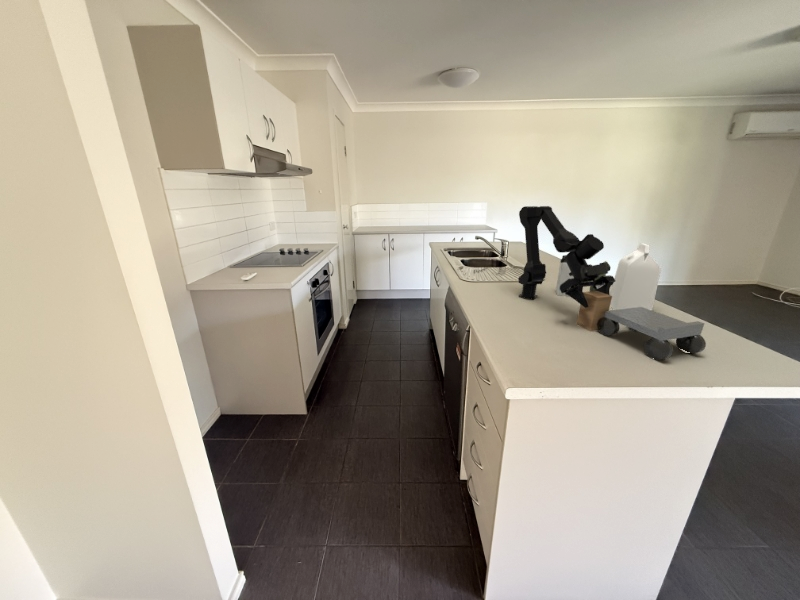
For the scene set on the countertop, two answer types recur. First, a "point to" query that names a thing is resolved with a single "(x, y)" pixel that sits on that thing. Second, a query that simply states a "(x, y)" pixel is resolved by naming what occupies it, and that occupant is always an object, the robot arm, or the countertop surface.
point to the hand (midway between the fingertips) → (598, 306)
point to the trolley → (655, 330)
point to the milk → (635, 280)
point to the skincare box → (562, 277)
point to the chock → (593, 309)
